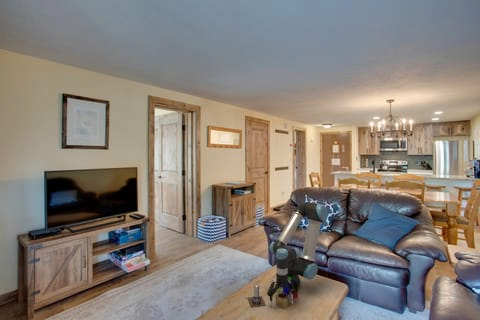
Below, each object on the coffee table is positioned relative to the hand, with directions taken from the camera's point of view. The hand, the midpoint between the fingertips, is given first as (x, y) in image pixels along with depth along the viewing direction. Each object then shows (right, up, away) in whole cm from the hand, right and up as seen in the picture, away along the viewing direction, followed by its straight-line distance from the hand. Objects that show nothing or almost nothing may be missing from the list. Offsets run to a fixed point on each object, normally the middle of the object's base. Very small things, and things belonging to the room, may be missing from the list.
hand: (281, 304), depth 165 cm
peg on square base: (-17, 0, +3) cm, 17 cm away
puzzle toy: (+6, 0, +12) cm, 13 cm away
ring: (0, 0, 0) cm, 0 cm away
